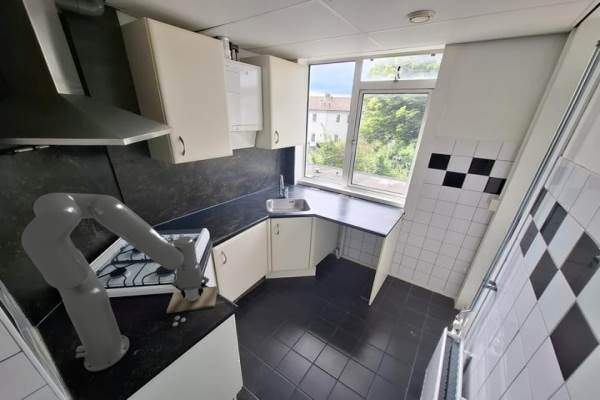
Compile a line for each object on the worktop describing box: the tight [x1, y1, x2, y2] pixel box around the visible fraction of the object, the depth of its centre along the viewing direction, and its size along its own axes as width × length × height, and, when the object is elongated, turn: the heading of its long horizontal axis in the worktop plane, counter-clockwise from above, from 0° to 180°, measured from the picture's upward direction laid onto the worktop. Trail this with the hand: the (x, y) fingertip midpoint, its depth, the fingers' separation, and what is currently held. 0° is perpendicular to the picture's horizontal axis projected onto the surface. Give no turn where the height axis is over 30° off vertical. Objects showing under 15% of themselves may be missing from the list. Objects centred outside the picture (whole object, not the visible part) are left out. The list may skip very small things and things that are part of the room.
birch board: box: [166, 285, 219, 314], centre depth 105 cm, size 20×12×1 cm, turn 103°
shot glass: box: [183, 286, 199, 301], centre depth 103 cm, size 7×7×7 cm
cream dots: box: [172, 315, 187, 327], centre depth 95 cm, size 5×5×1 cm
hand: (192, 294), depth 104 cm, fingers closed on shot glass, 6 cm apart
